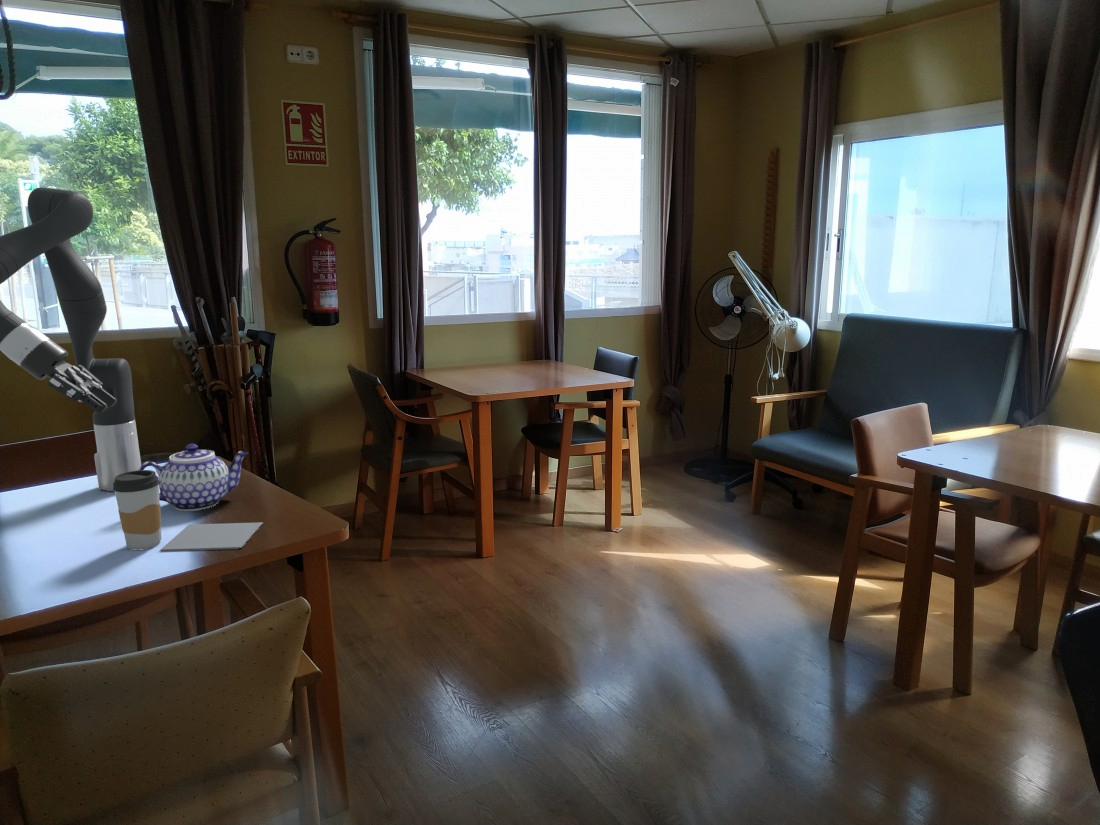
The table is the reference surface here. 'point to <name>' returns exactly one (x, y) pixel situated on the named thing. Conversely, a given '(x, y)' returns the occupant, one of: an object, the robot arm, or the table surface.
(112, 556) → the table surface
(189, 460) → the teapot
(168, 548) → the mat
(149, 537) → the coffee cup
